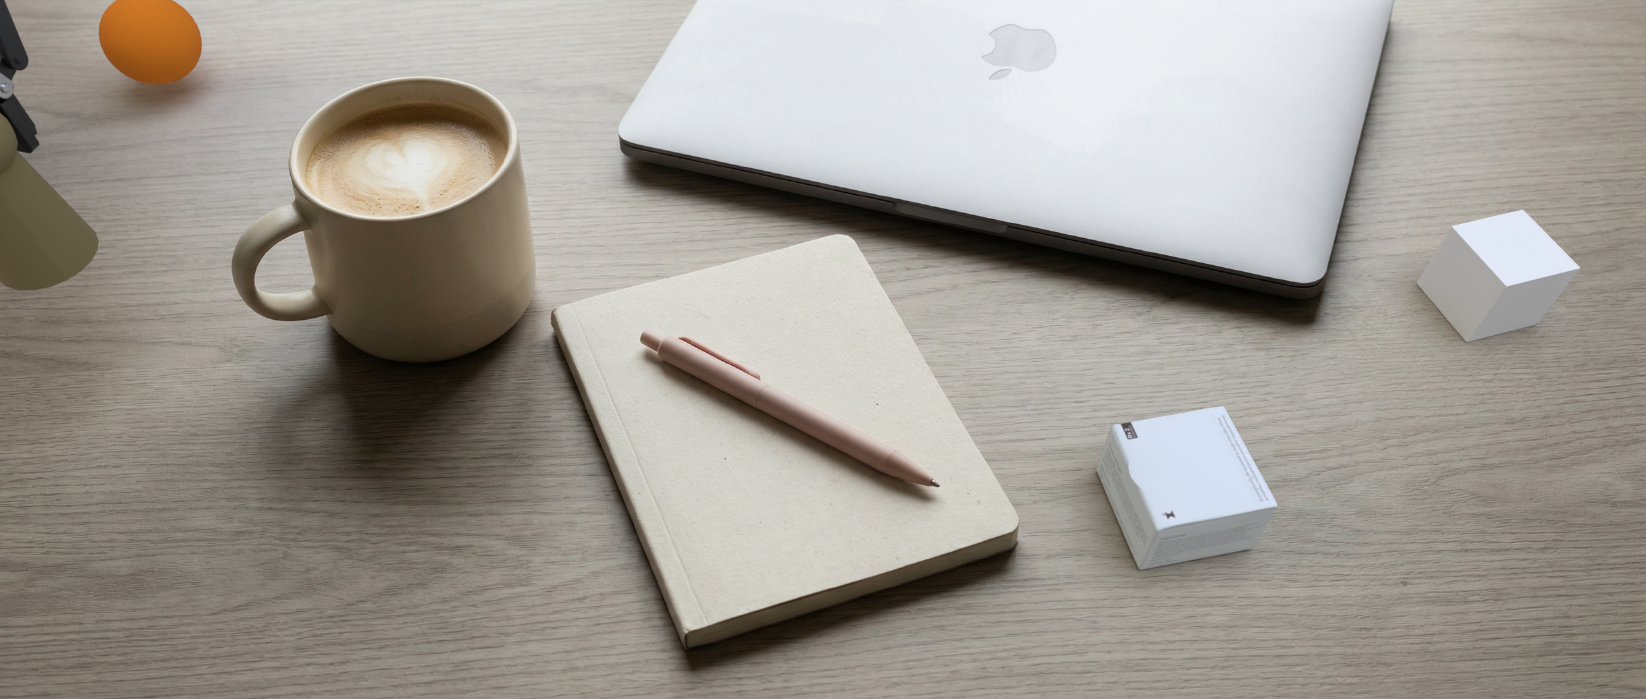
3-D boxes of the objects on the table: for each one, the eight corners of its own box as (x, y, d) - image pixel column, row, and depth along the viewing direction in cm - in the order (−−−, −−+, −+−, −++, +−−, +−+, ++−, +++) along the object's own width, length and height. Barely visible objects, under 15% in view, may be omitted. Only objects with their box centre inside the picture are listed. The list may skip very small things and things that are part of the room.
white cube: (1466, 342, 80) (1506, 286, 75) (1415, 283, 84) (1450, 226, 79) (1537, 324, 81) (1581, 267, 76) (1484, 266, 85) (1523, 208, 80)
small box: (1255, 550, 69) (1282, 508, 65) (1136, 573, 68) (1156, 531, 64) (1204, 447, 74) (1226, 402, 70) (1092, 467, 73) (1107, 422, 69)
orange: (106, 95, 97) (60, 20, 91) (159, 43, 102) (118, -31, 96) (184, 108, 96) (142, 33, 90) (233, 55, 101) (197, -19, 95)
